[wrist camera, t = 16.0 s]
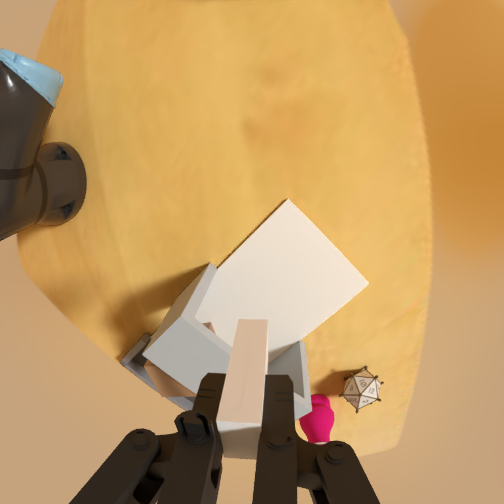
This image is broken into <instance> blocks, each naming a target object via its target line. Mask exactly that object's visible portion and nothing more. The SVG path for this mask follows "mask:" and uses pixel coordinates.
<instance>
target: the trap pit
mask: <svg viewBox="0 0 504 504" xmlns="http://www.w3.org/2000/svg"><path fill="white" fill-rule="evenodd" d="M150 337H151V336H150V335H149V334H148V333H145V334H144V336H143V337H142V338H141V339H140V340H139V341H138V342H137V343H136V344H135V345H134V346H133V347H132V348H131V350H130V351H129V352H128V353H127V354H126V355H125V356H124V357H123V359H122V360H121V362H120V364H121V365H122V366H124V367H125V368H126V369H128V370H129V371H130V372H131V373H133V374H134V375H135V376H137V377H138V378H139V379H140V380H142V381H143V382H144V383H146V384H147V385H149V386H150V387H151V388H153V389H154V390H155V391H157V392H158V393H159V391H158V390H157V388H156V387H155V385H154V383H153V382H152V380H151V378H150V377H149V375H148V373H147V371H146V370H145V368H144V365H145V363H146V361H147V360H148V359H147V358H146V357H145V356H143V355H142V354H143V352H144V350H145V349H146V347H147V345H148V344H149V342H150V340H151V338H150ZM165 398H167V399H168V400H170V401H171V402H173V403H174V404H176V405H177V406H179V407H180V408H182V409H183V410H185V411H188V410H192V408H193V404H194V401H195V398H196V396H193V397H165Z"/></svg>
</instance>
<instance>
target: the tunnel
mask: <svg viewBox="0 0 504 504" xmlns="http://www.w3.org/2000/svg"><path fill="white" fill-rule="evenodd" d="M368 284H369V283H368V282H367V280H366V279H365V278H364V277H363V276H362V275H361V274H360V273H359V272H358V270H357V269H356V268H355V267H354V266H353V265H352V264H351V263H350V262H349V261H348V260H347V258H346V257H345V256H344V255H343V254H342V253H341V252H340V251H339V250H338V249H337V248H336V247H335V246H334V245H333V244H332V243H331V241H330V240H329V239H328V238H327V237H326V236H325V235H324V234H323V233H322V232H321V231H320V230H319V229H318V228H317V227H316V226H315V225H314V224H313V223H312V222H311V221H310V220H309V219H308V218H307V217H306V216H305V215H304V214H303V213H302V212H301V211H300V210H299V209H298V208H297V207H296V206H295V205H294V204H293V203H292V202H291V201H290V200H289V199H287V200H286V201H285V202H284V203H283V204H282V205H281V206H280V207H279V208H278V209H277V210H276V211H275V212H274V213H273V214H272V215H271V216H270V217H269V218H268V219H267V220H266V221H265V222H264V223H263V224H262V225H261V226H260V227H259V228H258V229H257V230H256V231H255V232H254V233H253V234H252V235H251V236H250V237H249V238H248V239H247V240H246V241H245V242H244V243H243V244H242V245H241V246H240V247H239V248H238V249H237V250H236V251H235V252H234V253H233V254H232V255H231V256H230V257H229V258H228V259H227V260H226V261H225V262H224V263H223V264H222V265H221V266H220V267H219V268H216V267H215V266H214V265H213V264H212V263H211V262H210V263H209V264H208V265H207V266H206V268H205V269H204V270H203V271H202V272H201V273H200V274H199V275H198V276H197V277H196V278H195V279H194V280H193V281H192V282H191V283H190V284H189V285H188V286H187V287H186V288H185V290H184V291H183V292H182V293H181V294H180V295H179V296H178V297H177V299H176V300H175V302H174V303H173V305H172V307H171V308H170V310H169V311H168V313H167V315H166V316H165V318H164V319H163V321H162V323H161V324H160V326H159V327H158V329H157V331H156V332H155V334H154V336H153V337H152V339H151V340H150V342H149V344H148V345H147V347H146V349H145V350H144V352H143V354H142V355H143V356H145V357H146V358H147V359H148V360H150V361H151V362H152V363H154V364H155V365H156V366H157V367H159V368H160V369H161V370H163V371H164V372H165V373H167V374H168V375H170V376H171V377H172V378H174V379H175V380H176V381H178V382H179V383H181V384H182V385H184V386H185V387H186V388H188V389H189V390H191V391H192V392H194V393H195V394H197V392H198V390H199V385H200V382H201V379H202V378H203V377H204V376H205V375H206V374H207V373H208V372H210V373H225V374H227V369H228V365H229V360H230V356H231V351H232V347H233V342H234V338H235V333H236V329H237V324H238V320H239V319H262V320H268V370H267V374H268V375H289V377H290V378H291V380H292V381H293V386H294V413H295V420H297V419H299V418H301V417H302V416H304V415H306V414H308V413H310V412H311V411H312V405H311V394H310V384H309V375H308V365H307V357H306V348H305V343H304V342H303V341H302V340H301V339H302V338H304V337H305V336H306V335H308V334H309V333H310V332H311V331H313V330H314V329H315V328H317V327H318V326H319V325H320V324H322V323H323V322H324V321H325V320H327V319H328V318H329V317H330V316H332V315H333V314H334V313H335V312H337V311H338V310H339V309H340V308H341V307H343V306H344V305H345V304H346V303H347V302H349V301H350V300H351V299H352V298H353V297H354V296H356V295H357V294H358V293H359V292H360V291H361V290H362V289H364V288H365V287H366V286H367V285H368ZM208 322H211V323H212V326H213V329H214V331H215V334H214V333H213V332H212V331H211V330H209V329H208V328H207V327H206V326H204V325H203V324H202V323H208Z"/></svg>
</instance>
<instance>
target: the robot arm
mask: <svg viewBox="0 0 504 504" xmlns="http://www.w3.org/2000/svg"><path fill="white" fill-rule="evenodd" d="M62 85H63V77H62V75H61V73H60V72H58V71H56V70H54V69H52V68H50V67H48V66H46V65H43V64H41V63H39V62H36V61H34V60H32V59H29V58H27V57H24V56H21V55H19V54H16V53H14V52H12V51H9V50H6V49H3V48H2V49H0V241H1V240H3V239H5V238H7V237H9V236H11V235H13V234H15V233H17V232H19V231H22V230H24V229H26V228H28V227H30V226H32V225H35V224H42V225H59V224H62V223H64V222H67V221H69V220H71V219H72V218H73V217H74V216H76V214H77V213H78V212H79V210H80V209H81V207H82V204H83V202H84V199H85V194H86V172H85V168H84V164H83V162H82V159H81V157H80V156H79V154H78V153H77V151H76V150H75V149H74V148H73V147H72V146H70V145H69V144H66V143H63V142H53V143H48V144H45V145H43V146H41V142H42V139H43V136H44V133H45V131H46V128H47V125H48V122H49V120H50V117H51V114H52V112H53V109H54V108H55V107H56V101H57V98H58V95H59V93H60V90H61V88H62ZM40 146H41V147H40ZM267 370H268V320H262V319H239V320H238V324H237V329H236V333H235V338H234V342H233V347H232V351H231V356H230V360H229V365H228V369H227V374H225V373H210V372H208V373H207V374H206V375H205V376H204V377H203V378H202V379H201V382H200V385H199V390H198V392H197V395H196V398H195V401H194V404H193V408H192V410H188V411H185V412H182V413H181V414H180V415H178V416H177V417H176V419H175V421H174V422H175V425H176V427H177V430H178V432H176V433H173V434H167V435H155V433H153V432H152V431H150V430H147V429H136V430H133V431H131V432H130V433H128V434H127V435H126V436H125V438H124V439H123V440H122V441H121V442H120V444H119V445H118V446H117V447H116V449H115V450H114V451H113V452H112V453H111V455H110V456H109V457H108V458H107V459H106V461H105V462H104V463H103V464H102V465H101V467H100V468H99V469H98V470H97V472H95V474H94V475H93V476H92V477H91V478H90V480H89V481H88V482H87V483H86V484H85V485H84V487H83V488H82V489H81V490H80V491H79V493H78V494H77V495H76V496H75V497H74V498H73V499H72V501H71V502H70V503H69V504H155V503H156V502H157V501H158V502H157V504H216V501H217V495H218V490H219V485H220V479H221V473H222V463H221V461H222V455H224V457H227V458H240V459H257V462H256V472H255V482H254V492H253V502H252V504H297V486H298V487H302V488H306V489H309V492H310V495H311V497H312V501H313V504H380V502H379V500H378V498H377V496H376V494H375V492H374V490H373V488H372V486H371V484H370V482H369V480H368V478H367V476H366V474H365V472H364V470H363V468H362V466H361V464H360V462H359V460H358V458H357V456H356V454H355V452H354V450H353V449H352V447H351V446H350V445H349V444H347V443H345V442H342V441H329V442H327V443H325V444H323V445H318V444H314V443H310V442H307V441H305V440H303V439H301V438H300V437H299V436H298V434H297V432H296V430H295V413H294V386H293V381H292V380H291V378H290V377H289V375H268V374H267Z"/></svg>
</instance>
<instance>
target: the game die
mask: <svg viewBox="0 0 504 504" xmlns="http://www.w3.org/2000/svg"><path fill="white" fill-rule="evenodd" d="M367 368H368V367H367V366H366V367H365V370H363V371H361V372H359V373H357V374H355V375H354V374H353V373H351V374H350V375H351V377H350V378H348V379H347V378H344V380H346V383H345V387H344V390H343V393H342V394H339V397H341V396H343V397H344V398H345V399H346V400H347V401H348V402H350V403H351V404H352V405H353V406H354V407H355V408H356V409H357V410H356V411H355V412H356V414H357V413H358V409H360V408H362V407H364V406H366V405H368V404H372V402H374V401H376V400H378V401H381V399H379V398H378V397H379V391H380V385H381V384H383V383H384V382H381V383H380V382H379V381H378V380H377V379H376V378H378V376H377V375H376V376H375V377H374V376H373V375H372V374H371V373H370V372H368V371H367Z"/></svg>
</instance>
